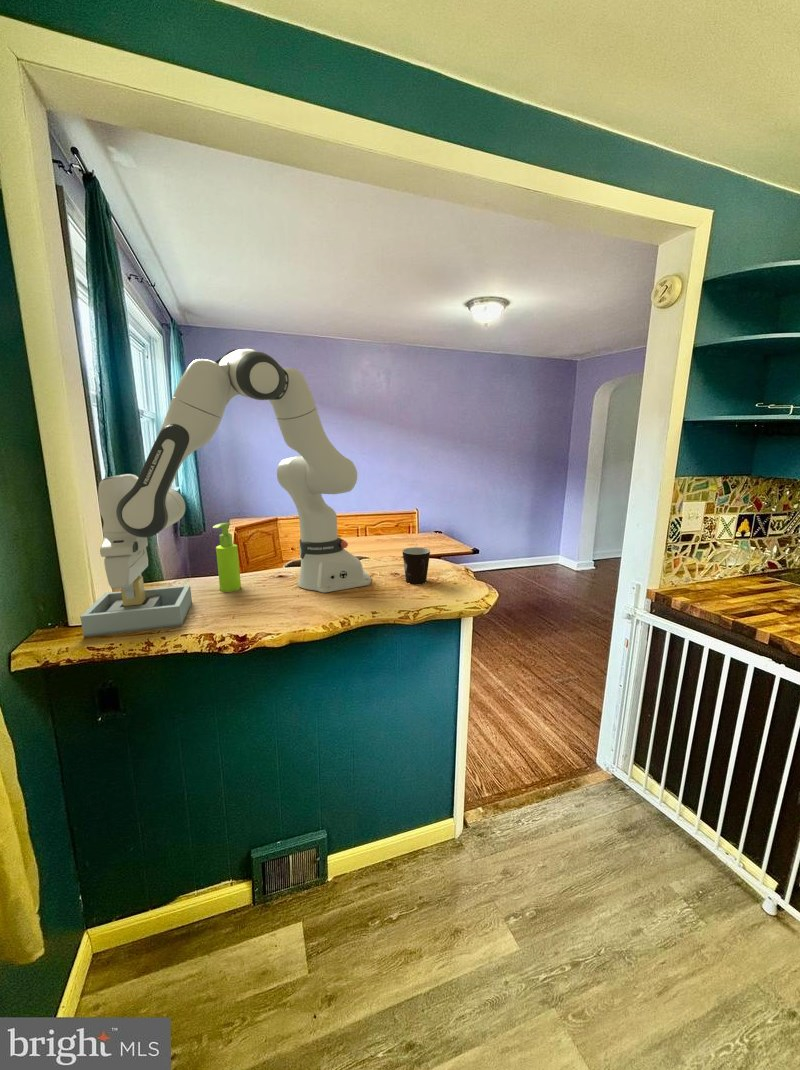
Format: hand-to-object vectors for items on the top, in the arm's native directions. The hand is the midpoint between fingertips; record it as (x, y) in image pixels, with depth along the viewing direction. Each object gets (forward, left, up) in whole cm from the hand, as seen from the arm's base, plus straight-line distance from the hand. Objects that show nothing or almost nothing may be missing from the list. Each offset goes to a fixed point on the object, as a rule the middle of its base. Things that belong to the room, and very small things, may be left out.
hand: (133, 594), depth 107 cm
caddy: (-2, +3, -6) cm, 6 cm away
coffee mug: (-76, -2, -6) cm, 76 cm away
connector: (0, 0, -2) cm, 2 cm away
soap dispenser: (-21, -14, -6) cm, 26 cm away
